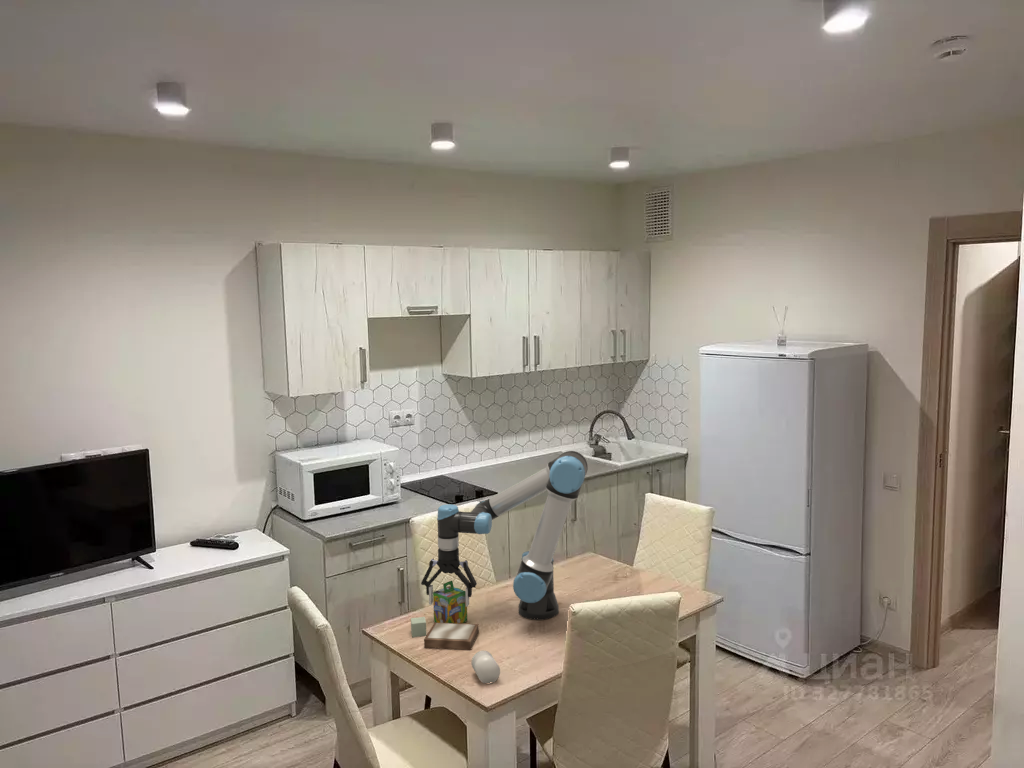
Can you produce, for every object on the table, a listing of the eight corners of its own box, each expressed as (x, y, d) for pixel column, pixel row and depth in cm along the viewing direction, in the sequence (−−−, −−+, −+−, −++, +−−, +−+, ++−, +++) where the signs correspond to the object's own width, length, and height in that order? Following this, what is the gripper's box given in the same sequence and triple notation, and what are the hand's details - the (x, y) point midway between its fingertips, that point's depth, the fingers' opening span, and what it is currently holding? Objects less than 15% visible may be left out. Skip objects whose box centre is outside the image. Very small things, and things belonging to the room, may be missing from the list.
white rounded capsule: (495, 652, 237) (503, 663, 230) (489, 673, 237) (496, 685, 230) (475, 648, 235) (482, 659, 228) (468, 670, 235) (475, 682, 228)
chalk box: (449, 629, 269) (448, 589, 268) (432, 622, 275) (431, 583, 274) (468, 621, 276) (467, 582, 274) (451, 614, 282) (450, 576, 280)
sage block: (425, 630, 269) (424, 616, 268) (426, 636, 264) (426, 622, 264) (411, 631, 268) (410, 618, 267) (412, 637, 263) (411, 623, 263)
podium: (478, 632, 266) (478, 623, 265) (470, 650, 252) (470, 640, 252) (434, 630, 268) (434, 621, 268) (424, 647, 254) (424, 638, 254)
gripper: (484, 545, 275) (484, 602, 277) (417, 543, 278) (418, 598, 280) (480, 552, 267) (480, 610, 269) (412, 549, 271) (413, 606, 273)
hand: (449, 604), depth 275 cm, fingers open, 13 cm apart
